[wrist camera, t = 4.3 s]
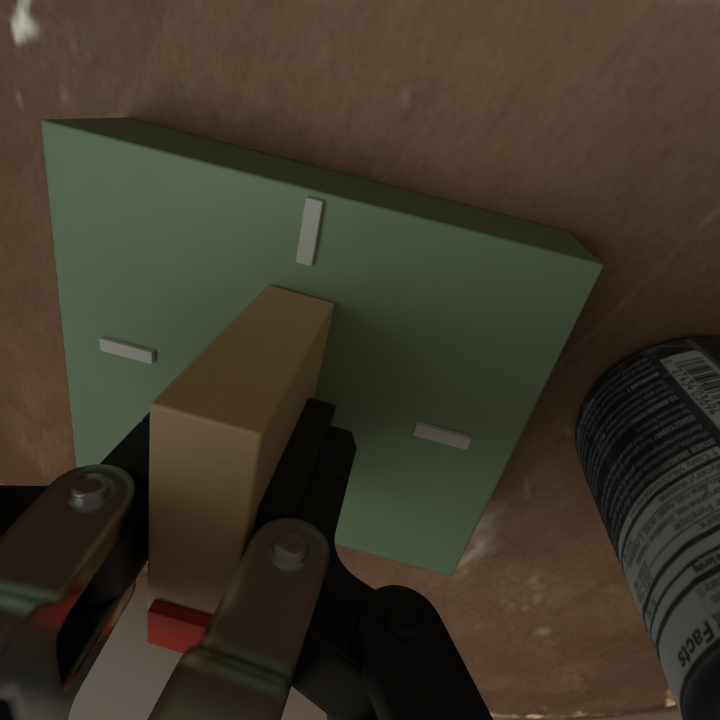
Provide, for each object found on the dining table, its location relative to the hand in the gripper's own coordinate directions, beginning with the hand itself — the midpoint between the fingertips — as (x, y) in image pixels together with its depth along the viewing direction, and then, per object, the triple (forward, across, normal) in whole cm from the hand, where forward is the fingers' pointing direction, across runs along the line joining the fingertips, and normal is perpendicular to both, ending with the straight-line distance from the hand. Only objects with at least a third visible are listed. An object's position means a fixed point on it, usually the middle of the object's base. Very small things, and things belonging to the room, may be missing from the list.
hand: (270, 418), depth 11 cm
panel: (+4, 0, 0) cm, 4 cm away
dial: (+1, 0, 0) cm, 1 cm away
